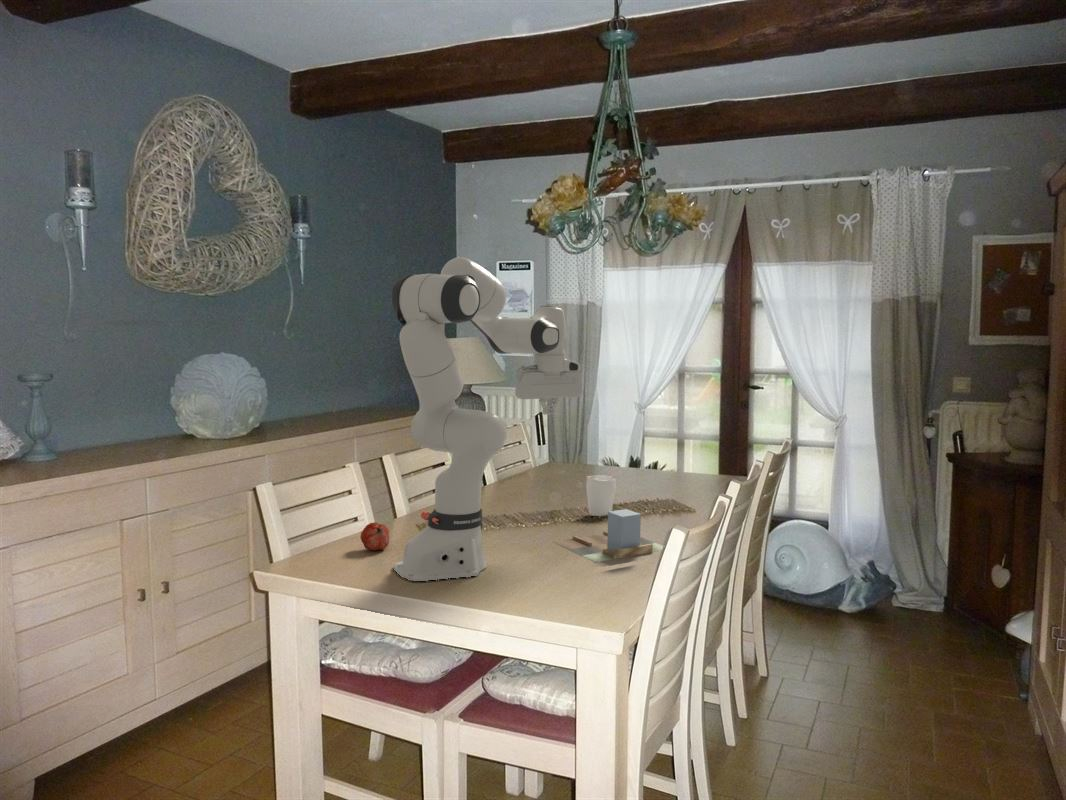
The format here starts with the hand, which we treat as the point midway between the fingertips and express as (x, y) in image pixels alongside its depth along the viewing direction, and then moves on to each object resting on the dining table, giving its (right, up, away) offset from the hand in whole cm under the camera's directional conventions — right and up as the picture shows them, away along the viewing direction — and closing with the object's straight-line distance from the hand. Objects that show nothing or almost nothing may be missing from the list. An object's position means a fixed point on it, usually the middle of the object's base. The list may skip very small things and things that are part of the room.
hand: (548, 414), depth 220 cm
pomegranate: (-46, -35, -14) cm, 60 cm away
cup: (+16, -32, +24) cm, 43 cm away
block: (+19, -35, -15) cm, 43 cm away
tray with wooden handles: (+16, -36, -11) cm, 41 cm away
